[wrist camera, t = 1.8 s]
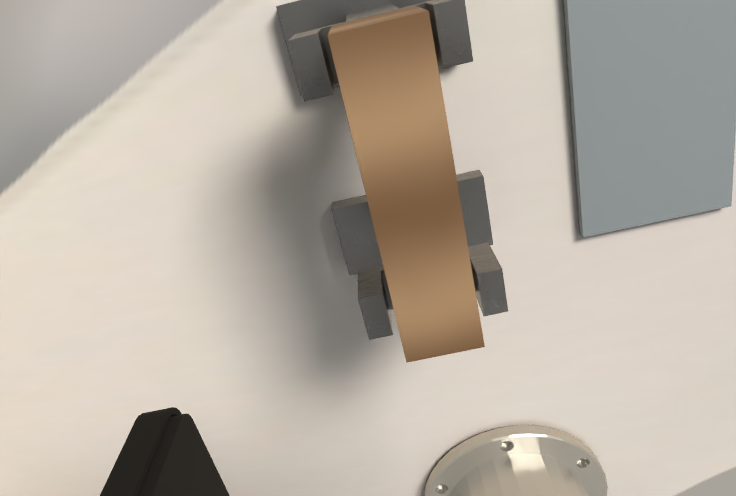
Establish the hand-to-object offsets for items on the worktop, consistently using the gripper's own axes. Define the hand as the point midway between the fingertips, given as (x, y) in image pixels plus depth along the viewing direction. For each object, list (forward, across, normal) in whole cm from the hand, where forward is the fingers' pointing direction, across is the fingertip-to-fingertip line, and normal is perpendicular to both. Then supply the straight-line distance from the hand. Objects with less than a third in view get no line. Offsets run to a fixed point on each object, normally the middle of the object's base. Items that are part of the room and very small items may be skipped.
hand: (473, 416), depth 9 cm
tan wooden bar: (+14, 0, +1) cm, 14 cm away
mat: (+21, -13, +1) cm, 25 cm away
